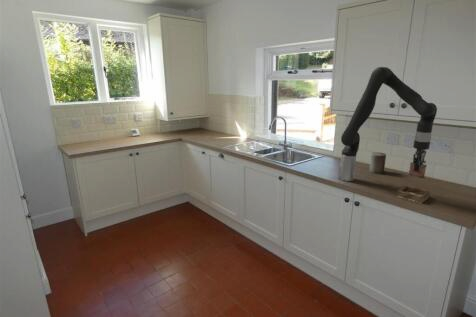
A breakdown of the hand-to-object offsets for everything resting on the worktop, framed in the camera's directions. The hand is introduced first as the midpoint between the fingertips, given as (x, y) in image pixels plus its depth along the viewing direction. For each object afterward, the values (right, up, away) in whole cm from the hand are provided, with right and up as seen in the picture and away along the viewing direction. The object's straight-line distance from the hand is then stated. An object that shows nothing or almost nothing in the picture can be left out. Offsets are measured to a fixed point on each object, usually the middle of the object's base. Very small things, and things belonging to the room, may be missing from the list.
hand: (417, 169), depth 162 cm
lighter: (0, -4, +1) cm, 4 cm away
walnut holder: (0, -16, +4) cm, 17 cm away
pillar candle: (0, -4, +49) cm, 49 cm away
